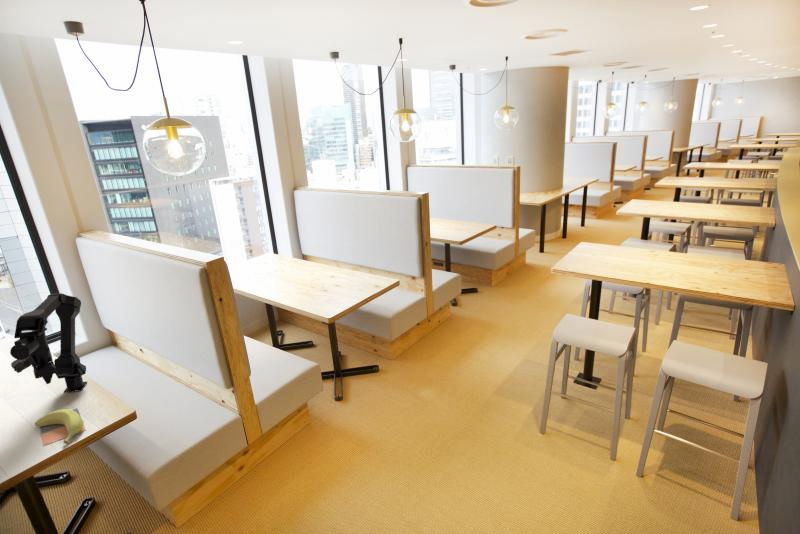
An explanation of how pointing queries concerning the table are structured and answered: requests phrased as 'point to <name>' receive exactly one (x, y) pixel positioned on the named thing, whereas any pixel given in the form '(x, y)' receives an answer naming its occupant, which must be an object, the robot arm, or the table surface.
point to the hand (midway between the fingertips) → (48, 383)
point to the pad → (56, 435)
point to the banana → (63, 421)
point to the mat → (54, 425)
